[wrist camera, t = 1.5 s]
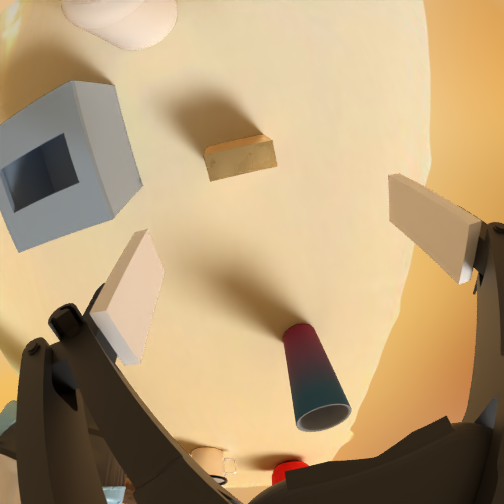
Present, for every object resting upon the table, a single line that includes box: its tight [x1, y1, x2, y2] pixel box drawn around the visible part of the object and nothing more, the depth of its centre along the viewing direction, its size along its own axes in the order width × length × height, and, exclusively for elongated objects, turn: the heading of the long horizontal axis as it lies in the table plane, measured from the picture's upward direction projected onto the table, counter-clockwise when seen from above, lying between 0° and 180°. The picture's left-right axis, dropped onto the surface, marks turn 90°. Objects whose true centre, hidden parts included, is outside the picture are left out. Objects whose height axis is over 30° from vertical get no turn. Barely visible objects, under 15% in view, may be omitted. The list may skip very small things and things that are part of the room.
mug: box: [192, 447, 237, 485], centre depth 58 cm, size 12×10×9 cm
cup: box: [283, 324, 351, 432], centre depth 36 cm, size 7×7×15 cm
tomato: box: [272, 461, 308, 485], centre depth 65 cm, size 16×14×14 cm
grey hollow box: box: [0, 80, 143, 253], centre depth 23 cm, size 12×12×10 cm
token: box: [204, 134, 277, 182], centre depth 27 cm, size 6×2×6 cm, turn 102°
